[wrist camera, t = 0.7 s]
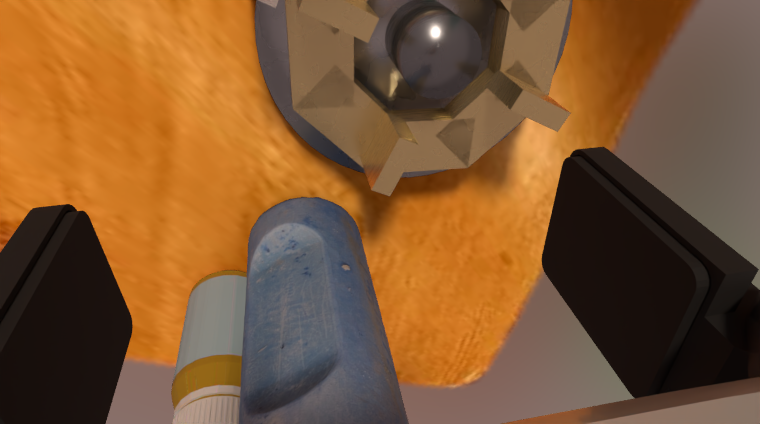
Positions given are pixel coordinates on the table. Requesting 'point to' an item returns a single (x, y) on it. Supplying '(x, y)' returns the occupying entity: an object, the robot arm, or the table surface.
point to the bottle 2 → (313, 323)
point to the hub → (393, 58)
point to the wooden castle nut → (430, 125)
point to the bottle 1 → (211, 352)
